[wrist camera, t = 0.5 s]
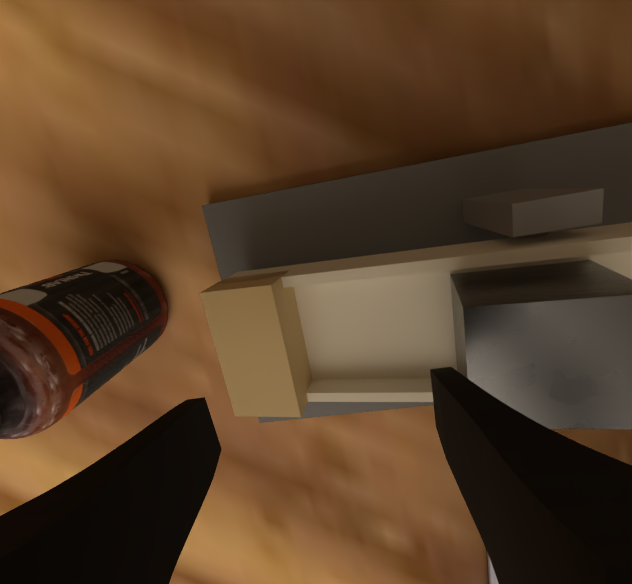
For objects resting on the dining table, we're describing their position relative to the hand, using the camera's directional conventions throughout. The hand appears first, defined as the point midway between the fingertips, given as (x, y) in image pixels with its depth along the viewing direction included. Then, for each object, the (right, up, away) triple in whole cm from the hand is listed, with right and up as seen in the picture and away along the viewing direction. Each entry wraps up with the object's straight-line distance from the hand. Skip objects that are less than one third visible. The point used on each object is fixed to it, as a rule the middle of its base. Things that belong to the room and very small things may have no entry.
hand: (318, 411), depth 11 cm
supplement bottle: (-12, +3, +11) cm, 17 cm away
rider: (+8, +3, +4) cm, 9 cm away
